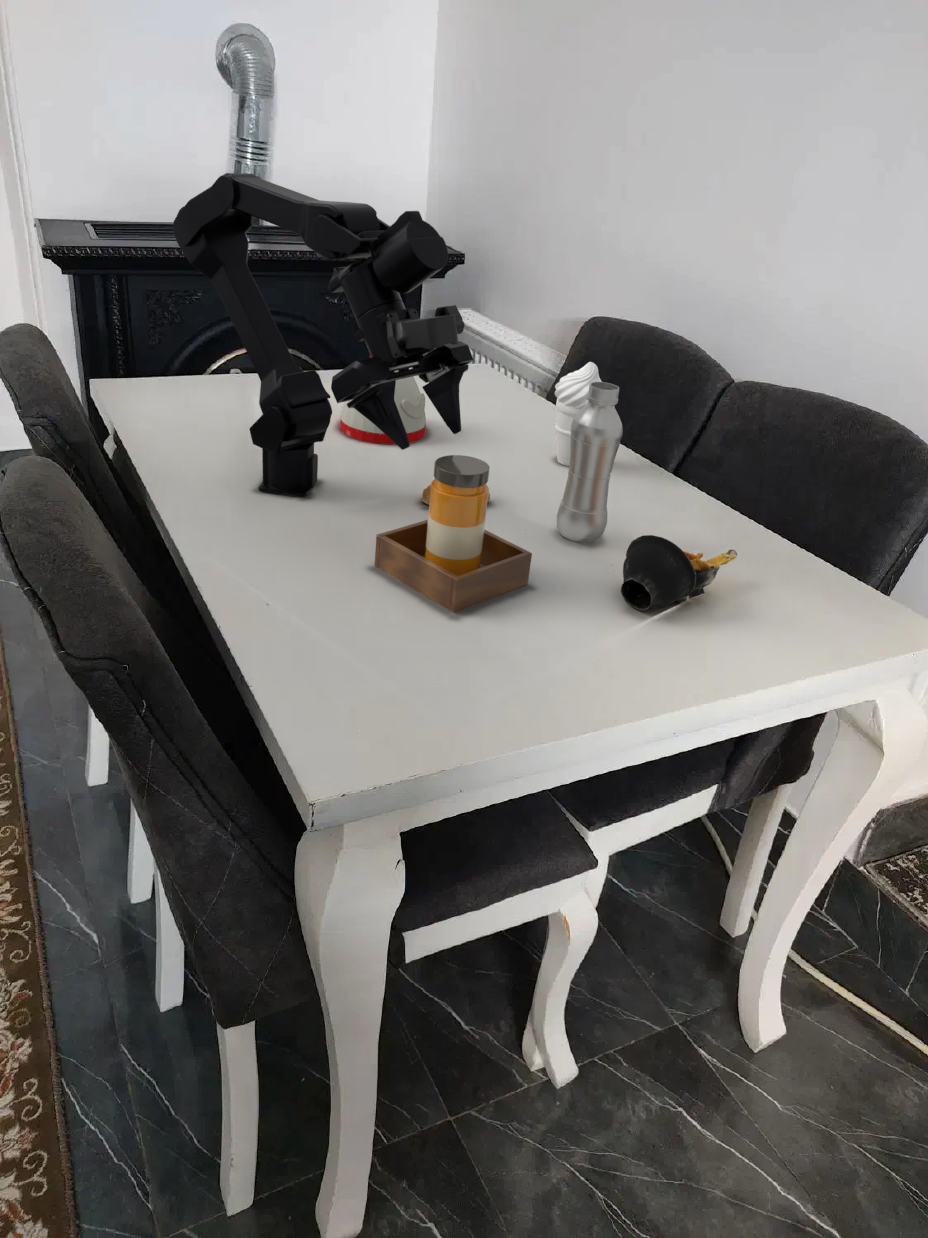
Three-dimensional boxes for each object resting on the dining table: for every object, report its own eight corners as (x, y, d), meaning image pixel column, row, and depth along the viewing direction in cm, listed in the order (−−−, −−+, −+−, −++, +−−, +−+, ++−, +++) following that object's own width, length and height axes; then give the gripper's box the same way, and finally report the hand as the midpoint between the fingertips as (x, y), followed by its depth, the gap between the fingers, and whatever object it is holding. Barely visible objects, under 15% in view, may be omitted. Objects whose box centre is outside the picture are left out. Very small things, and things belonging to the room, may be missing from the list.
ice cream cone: (537, 463, 144) (552, 361, 136) (553, 449, 150) (567, 350, 143) (588, 475, 141) (606, 371, 133) (602, 460, 148) (620, 360, 140)
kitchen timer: (441, 431, 153) (449, 339, 145) (392, 450, 142) (398, 352, 135) (374, 411, 159) (378, 322, 151) (322, 428, 148) (324, 333, 141)
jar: (411, 571, 106) (420, 460, 100) (451, 557, 110) (462, 450, 104) (450, 593, 103) (461, 479, 96) (490, 578, 107) (503, 468, 100)
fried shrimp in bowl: (589, 562, 103) (670, 479, 112) (622, 640, 108) (696, 555, 117) (658, 564, 96) (737, 476, 106) (689, 647, 101) (762, 556, 110)
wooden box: (374, 568, 107) (376, 534, 105) (448, 545, 114) (451, 512, 112) (453, 616, 99) (457, 580, 97) (527, 587, 107) (532, 553, 104)
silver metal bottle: (572, 551, 117) (598, 395, 107) (544, 529, 122) (567, 379, 112) (613, 545, 119) (643, 393, 110) (584, 524, 124) (610, 377, 115)
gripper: (365, 285, 93) (425, 430, 94) (478, 273, 106) (529, 400, 108) (303, 333, 101) (360, 466, 102) (416, 316, 114) (464, 434, 115)
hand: (432, 440), depth 107 cm, fingers open, 9 cm apart
